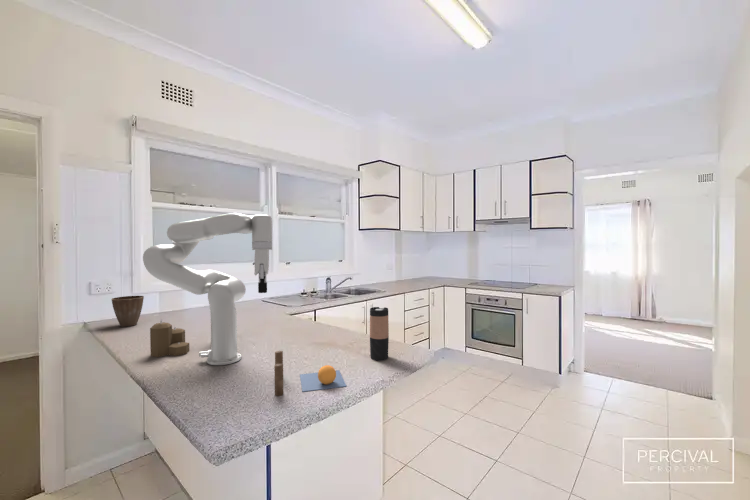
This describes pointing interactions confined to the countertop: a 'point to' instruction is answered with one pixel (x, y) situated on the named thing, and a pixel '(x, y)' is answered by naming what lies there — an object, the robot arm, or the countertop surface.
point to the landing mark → (313, 383)
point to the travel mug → (379, 333)
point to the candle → (167, 340)
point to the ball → (326, 374)
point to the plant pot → (127, 309)
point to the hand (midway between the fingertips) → (262, 292)
